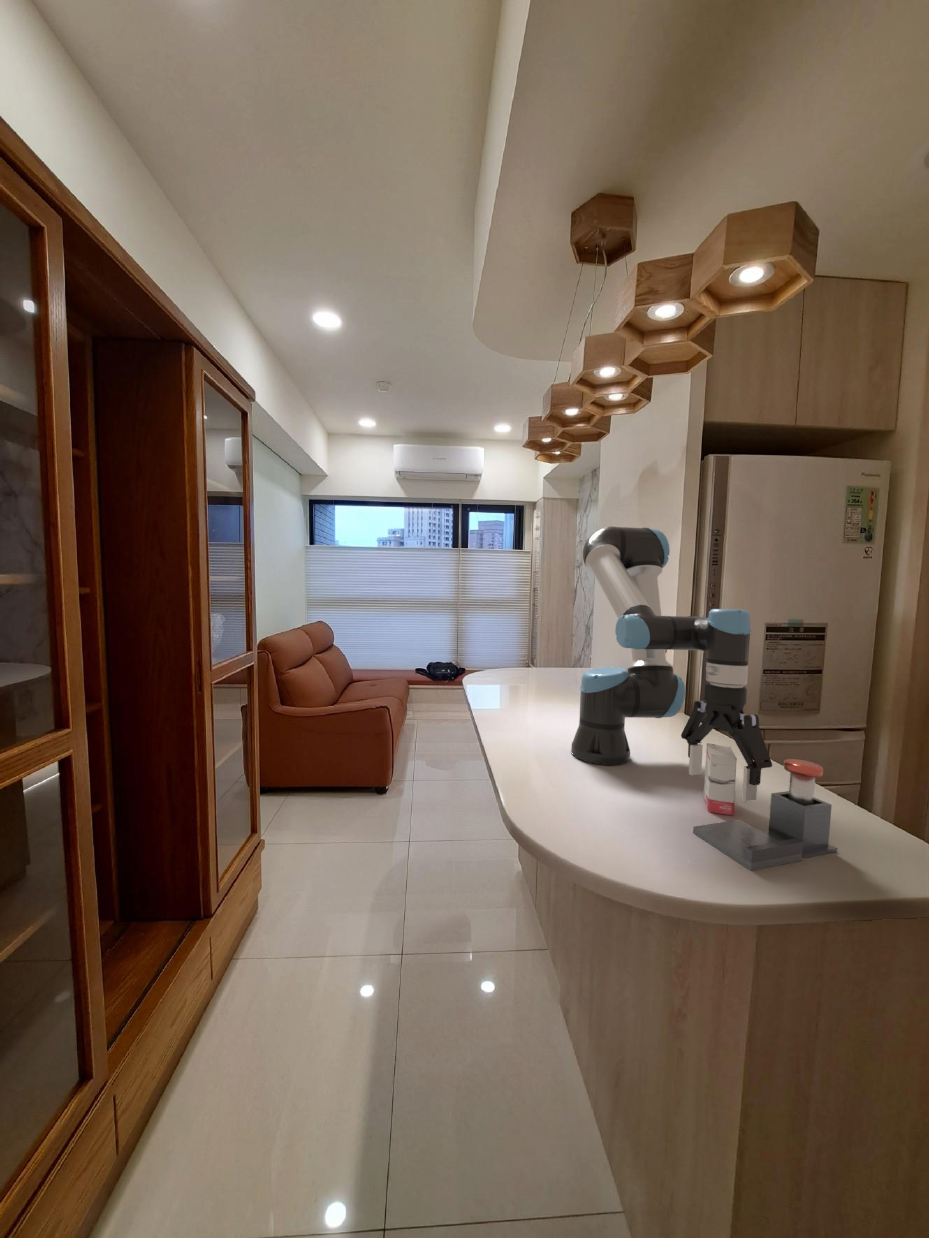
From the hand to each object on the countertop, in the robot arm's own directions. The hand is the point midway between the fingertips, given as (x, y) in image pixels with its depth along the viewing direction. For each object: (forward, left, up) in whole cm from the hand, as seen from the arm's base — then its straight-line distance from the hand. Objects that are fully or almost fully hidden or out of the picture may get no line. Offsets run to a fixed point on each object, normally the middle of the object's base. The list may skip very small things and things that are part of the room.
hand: (720, 786), depth 97 cm
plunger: (+15, +2, +1) cm, 15 cm away
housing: (+15, +2, -4) cm, 16 cm away
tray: (+14, -8, -4) cm, 17 cm away
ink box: (0, 0, -5) cm, 5 cm away
